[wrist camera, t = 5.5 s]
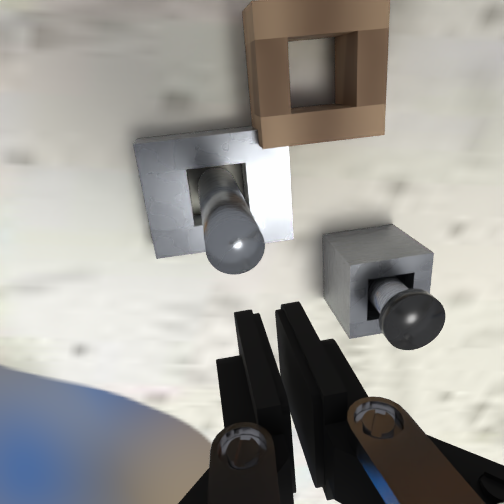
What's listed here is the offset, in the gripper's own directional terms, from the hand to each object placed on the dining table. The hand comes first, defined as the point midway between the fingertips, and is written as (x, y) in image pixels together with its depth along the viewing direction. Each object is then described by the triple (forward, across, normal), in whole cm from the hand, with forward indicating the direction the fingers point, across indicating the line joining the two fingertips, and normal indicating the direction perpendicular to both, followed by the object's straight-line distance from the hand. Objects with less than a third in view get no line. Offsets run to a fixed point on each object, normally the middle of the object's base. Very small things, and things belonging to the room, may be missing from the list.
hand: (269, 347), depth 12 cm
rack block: (+19, -7, -7) cm, 22 cm away
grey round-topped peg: (+20, 0, 0) cm, 20 cm away
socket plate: (+19, 0, 0) cm, 19 cm away
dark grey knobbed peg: (+19, -11, +8) cm, 23 cm away
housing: (+19, -11, +8) cm, 24 cm away
